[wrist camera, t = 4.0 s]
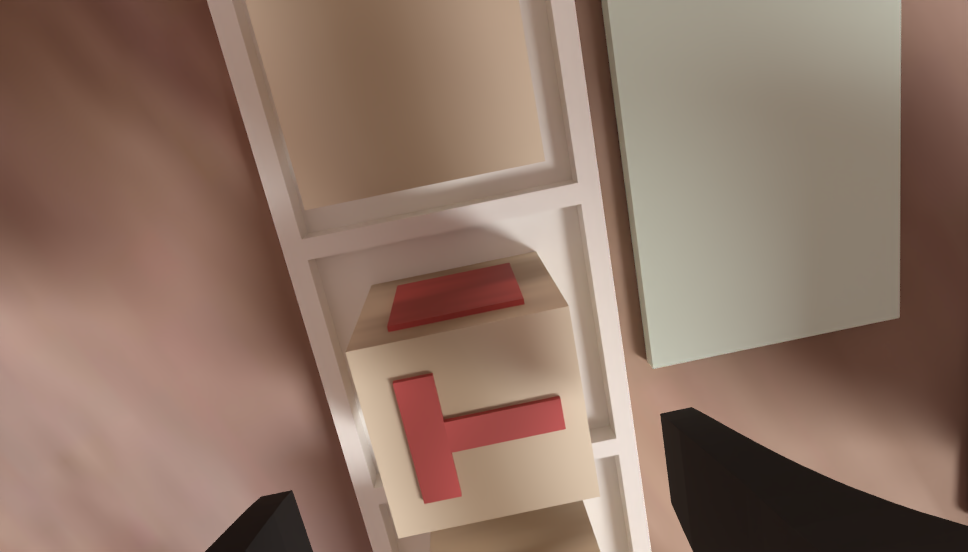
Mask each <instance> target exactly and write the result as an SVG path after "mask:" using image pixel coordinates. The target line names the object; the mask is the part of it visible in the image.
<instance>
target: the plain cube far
mask: <svg viewBox="0 0 968 552" xmlns="http://www.w3.org/2000/svg"><path fill="white" fill-rule="evenodd" d="M430 552H600V549H599V546H598V543H597V540H596V537H595V534H594V532H593V529H592V526H591V523H590V520H589V517H588V514H587V511H586V508H585V506H584V503H583V500H581V501H576V502H571V503H566V504H562V505H557V506H552V507H547V508H543V509H538V510H533V511H528V512H523V513H519V514H514V515H509V516H504V517H499V518H495V519H490V520H485V521H480V522H475V523H471V524H466V525H461V526H456V527H451V528H447V529H442V530H437V531H432V532H431V535H430Z"/></svg>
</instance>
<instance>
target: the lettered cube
mask: <svg viewBox="0 0 968 552" xmlns="http://www.w3.org/2000/svg"><path fill="white" fill-rule="evenodd" d="M345 353H346V356H347V360H348V363H349V367H350V370H351V374H352V377H353V381H354V384H355V388H356V391H357V395H358V398H359V402H360V405H361V409H362V413H363V416H364V420H365V423H366V427H367V430H368V434H369V437H370V441H371V444H372V448H373V451H374V455H375V458H376V462H377V465H378V469H379V472H380V476H381V479H382V483H383V486H384V490H385V493H386V497H387V500H388V504H389V507H390V511H391V514H392V518H393V521H394V525H395V528H396V532H397V535H398V539H399V538H403V537H408V536H413V535H418V534H423V533H427V532H432V531H437V530H442V529H447V528H451V527H456V526H461V525H466V524H471V523H475V522H480V521H485V520H490V519H495V518H499V517H504V516H509V515H514V514H519V513H523V512H528V511H533V510H538V509H543V508H547V507H552V506H557V505H562V504H566V503H571V502H576V501H581V500H586V499H590V498H595V497H600V492H599V486H598V480H597V474H596V468H595V462H594V456H593V449H592V443H591V437H590V431H589V425H588V419H587V413H586V407H585V401H584V395H583V388H582V382H581V376H580V370H579V364H578V358H577V352H576V346H575V340H574V334H573V327H572V321H571V315H570V309H569V305H568V304H567V302H566V300H565V299H564V297H563V295H562V294H561V292H560V290H559V289H558V287H557V285H556V284H555V282H554V280H553V279H552V277H551V276H550V274H549V272H548V271H547V269H546V267H545V266H544V264H543V262H542V261H541V259H540V257H539V256H538V254H537V252H536V251H535V252H530V253H526V254H521V255H516V256H511V257H506V258H501V259H496V260H492V261H487V262H482V263H477V264H472V265H467V266H462V267H458V268H453V269H448V270H443V271H438V272H433V273H428V274H424V275H419V276H414V277H409V278H404V279H399V280H394V281H390V282H385V283H380V284H375V285H371V288H370V290H369V293H368V296H367V298H366V301H365V303H364V306H363V308H362V311H361V313H360V316H359V319H358V321H357V324H356V326H355V329H354V331H353V334H352V336H351V339H350V342H349V344H348V347H347V349H346V352H345Z"/></svg>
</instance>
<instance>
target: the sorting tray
mask: <svg viewBox="0 0 968 552" xmlns="http://www.w3.org/2000/svg"><path fill="white" fill-rule="evenodd" d="M207 3H208V6H209V9H210V13H211V16H212V19H213V23H214V26H215V29H216V32H217V36H218V39H219V42H220V46H221V49H222V52H223V56H224V59H225V62H226V66H227V69H228V72H229V76H230V79H231V82H232V86H233V89H234V92H235V95H236V99H237V102H238V105H239V109H240V112H241V115H242V119H243V122H244V125H245V129H246V132H247V135H248V139H249V142H250V145H251V149H252V152H253V155H254V158H255V162H256V165H257V168H258V172H259V175H260V178H261V182H262V185H263V188H264V192H265V195H266V198H267V202H268V205H269V208H270V212H271V215H272V218H273V221H274V225H275V228H276V231H277V235H278V238H279V241H280V245H281V248H282V251H283V255H284V258H285V261H286V265H287V268H288V271H289V275H290V278H291V281H292V284H293V288H294V291H295V294H296V298H297V301H298V304H299V308H300V311H301V314H302V318H303V321H304V324H305V328H306V331H307V334H308V337H309V341H310V344H311V347H312V351H313V354H314V357H315V361H316V364H317V367H318V371H319V374H320V377H321V381H322V384H323V387H324V391H325V394H326V397H327V400H328V404H329V407H330V410H331V414H332V417H333V420H334V424H335V427H336V430H337V434H338V437H339V440H340V444H341V447H342V450H343V454H344V457H345V460H346V463H347V467H348V470H349V473H350V477H351V480H352V483H353V487H354V490H355V493H356V497H357V500H358V503H359V507H360V510H361V513H362V517H363V520H364V523H365V526H366V530H367V533H368V536H369V540H370V543H371V546H372V550H373V552H430V535H431V532H427V533H423V534H418V535H413V536H408V537H403V538H399V539H398V535H397V532H396V528H395V525H394V521H393V518H392V514H391V511H390V507H389V504H388V500H387V497H386V493H385V490H384V486H383V483H382V479H381V476H380V472H379V469H378V465H377V462H376V458H375V455H374V451H373V448H372V444H371V441H370V437H369V434H368V430H367V427H366V423H365V420H364V416H363V413H362V409H361V405H360V402H359V398H358V395H357V391H356V388H355V384H354V381H353V377H352V374H351V370H350V367H349V363H348V360H347V356H346V353H345V352H346V349H347V347H348V344H349V342H350V339H351V336H352V334H353V331H354V329H355V326H356V324H357V321H358V319H359V316H360V313H361V311H362V308H363V306H364V303H365V301H366V298H367V296H368V293H369V290H370V288H371V285H375V284H380V283H385V282H390V281H394V280H399V279H404V278H409V277H414V276H419V275H424V274H428V273H433V272H438V271H443V270H448V269H453V268H458V267H462V266H467V265H472V264H477V263H482V262H487V261H492V260H496V259H501V258H506V257H511V256H516V255H521V254H526V253H530V252H535V251H536V252H537V254H538V256H539V257H540V259H541V261H542V262H543V264H544V266H545V267H546V269H547V271H548V272H549V274H550V276H551V277H552V279H553V280H554V282H555V284H556V285H557V287H558V289H559V290H560V292H561V294H562V295H563V297H564V299H565V300H566V302H567V304H568V305H569V309H570V315H571V321H572V327H573V334H574V340H575V346H576V352H577V358H578V364H579V370H580V376H581V382H582V388H583V395H584V401H585V407H586V413H587V419H588V425H589V431H590V437H591V443H592V449H593V456H594V462H595V468H596V474H597V480H598V486H599V492H600V497H595V498H590V499H586V500H583V503H584V506H585V508H586V511H587V514H588V517H589V520H590V523H591V526H592V529H593V532H594V534H595V537H596V540H597V543H598V546H599V549H600V552H651V545H650V538H649V531H648V524H647V517H646V510H645V502H644V495H643V488H642V481H641V474H640V467H639V459H638V452H637V445H636V438H635V431H634V424H633V416H632V409H631V402H630V395H629V388H628V381H627V373H626V366H625V359H624V352H623V345H622V338H621V330H620V323H619V316H618V309H617V302H616V295H615V287H614V280H613V273H612V266H611V259H610V252H609V244H608V237H607V230H606V223H605V216H604V209H603V201H602V194H601V187H600V180H599V173H598V166H597V158H596V151H595V144H594V137H593V130H592V123H591V115H590V108H589V101H588V94H587V87H586V80H585V72H584V65H583V58H582V51H581V44H580V37H579V29H578V22H577V15H576V8H575V1H574V0H519V4H520V10H521V17H522V23H523V29H524V35H525V41H526V47H527V53H528V59H529V65H530V71H531V77H532V84H533V90H534V96H535V102H536V108H537V114H538V120H539V126H540V132H541V138H542V145H543V151H544V157H545V161H543V162H539V163H534V164H529V165H524V166H519V167H514V168H509V169H504V170H500V171H495V172H490V173H485V174H480V175H475V176H470V177H465V178H460V179H456V180H451V181H446V182H441V183H436V184H431V185H426V186H421V187H417V188H412V189H407V190H402V191H397V192H392V193H387V194H382V195H378V196H373V197H368V198H363V199H358V200H353V201H348V202H343V203H339V204H334V205H329V206H324V207H319V208H314V209H309V210H305V209H304V205H303V202H302V198H301V195H300V191H299V188H298V184H297V181H296V177H295V174H294V170H293V167H292V163H291V160H290V156H289V153H288V149H287V146H286V142H285V139H284V135H283V131H282V128H281V124H280V121H279V117H278V114H277V110H276V107H275V103H274V100H273V96H272V93H271V89H270V86H269V82H268V79H267V75H266V72H265V68H264V65H263V61H262V58H261V54H260V51H259V47H258V44H257V40H256V37H255V33H254V30H253V26H252V23H251V19H250V16H249V12H248V9H247V5H246V2H245V0H207Z"/></svg>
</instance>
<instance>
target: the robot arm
mask: <svg viewBox="0 0 968 552" xmlns="http://www.w3.org/2000/svg"><path fill="white" fill-rule="evenodd" d="M660 416H661V424H662V432H663V440H664V448H665V456H666V464H667V472H668V480H669V488H670V496H671V503H672V506H673V508H674V510H675V512H676V515H677V517H678V519H679V522H680V524H681V526H682V528H683V531H684V533H685V535H686V537H687V539H688V541H689V544H690V546H691V548H692V550H693V552H968V526H966V525H963V524H959V523H956V522H953V521H949V520H946V519H942V518H939V517H936V516H932V515H929V514H926V513H922V512H919V511H916V510H913V509H910V508H907V507H904V506H901V505H898V504H895V503H892V502H890V501H887V500H884V499H882V498H879V497H876V496H874V495H871V494H868V493H866V492H863V491H860V490H857V489H855V488H852V487H850V486H847V485H845V484H842V483H840V482H838V481H835V480H833V479H831V478H828V477H826V476H824V475H822V474H820V473H817V472H815V471H813V470H811V469H809V468H806V467H804V466H802V465H800V464H798V463H796V462H794V461H792V460H790V459H787V458H785V457H783V456H781V455H779V454H777V453H775V452H773V451H772V450H770V449H768V448H766V447H764V446H762V445H760V444H758V443H756V442H754V441H753V440H751V439H749V438H747V437H745V436H743V435H741V434H740V433H738V432H736V431H734V430H732V429H731V428H729V427H727V426H725V425H723V424H722V423H720V422H718V421H716V420H714V419H713V418H711V417H709V416H707V415H705V414H703V413H702V412H700V411H698V410H696V409H694V408H692V407H691V408H686V409H681V410H676V411H671V412H667V413H662V414H660ZM205 552H313V550H312V548H311V545H310V542H309V539H308V536H307V533H306V530H305V527H304V524H303V521H302V518H301V515H300V512H299V509H298V506H297V503H296V500H295V497H294V494H293V491H292V490H291V491H286V492H282V493H277V494H272V495H267V496H262V497H260V498H259V499H258V500H257V501H256V502H255V503H253V504H252V505H251V506H250V507H249V508H248V509H247V510H246V511H245V512H244V513H243V514H242V515H241V516H240V517H239V518H238V519H237V520H236V521H235V522H234V523H233V524H232V525H231V526H230V527H229V528H228V529H227V530H226V531H225V532H224V533H223V534H222V535H221V536H220V537H219V538H218V539H217V540H216V541H215V542H214V543H213V544H212V545H211V546H210V547H209V548H208V549H207V550H206V551H205Z"/></svg>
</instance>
